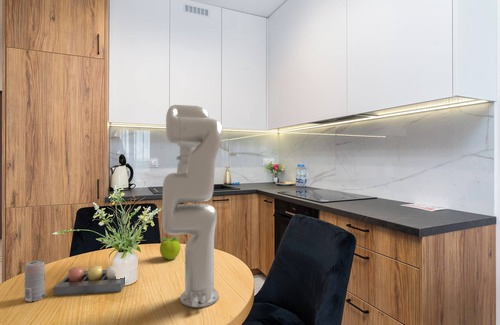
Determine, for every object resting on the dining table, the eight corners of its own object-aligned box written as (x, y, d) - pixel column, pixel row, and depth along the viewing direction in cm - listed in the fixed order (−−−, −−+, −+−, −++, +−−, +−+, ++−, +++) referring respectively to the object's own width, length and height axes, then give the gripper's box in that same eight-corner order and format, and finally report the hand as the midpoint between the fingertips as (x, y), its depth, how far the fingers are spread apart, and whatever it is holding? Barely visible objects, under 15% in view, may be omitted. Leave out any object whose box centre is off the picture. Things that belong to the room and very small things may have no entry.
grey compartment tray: (120, 291, 103) (120, 283, 103) (53, 296, 100) (53, 287, 100) (130, 275, 117) (130, 268, 117) (72, 279, 114) (72, 271, 114)
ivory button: (118, 280, 107) (118, 269, 107) (105, 280, 107) (105, 269, 107) (122, 275, 112) (122, 264, 112) (109, 275, 111) (109, 265, 111)
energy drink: (41, 293, 102) (41, 258, 101) (47, 298, 98) (46, 262, 98) (22, 299, 98) (22, 263, 97) (27, 304, 94) (27, 267, 94)
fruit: (159, 256, 140) (159, 235, 140) (179, 254, 143) (179, 234, 142) (159, 263, 131) (159, 240, 131) (181, 261, 134) (181, 239, 134)
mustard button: (99, 281, 106) (99, 270, 106) (85, 282, 106) (85, 270, 106) (103, 276, 111) (103, 265, 111) (90, 276, 110) (90, 266, 110)
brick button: (80, 282, 105) (80, 271, 105) (66, 283, 105) (66, 271, 105) (85, 277, 110) (85, 266, 110) (72, 277, 109) (71, 267, 109)
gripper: (169, 159, 131) (169, 197, 132) (207, 159, 137) (207, 196, 137) (168, 159, 138) (168, 195, 139) (205, 159, 144) (205, 194, 144)
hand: (188, 195), depth 138 cm, fingers open, 9 cm apart
